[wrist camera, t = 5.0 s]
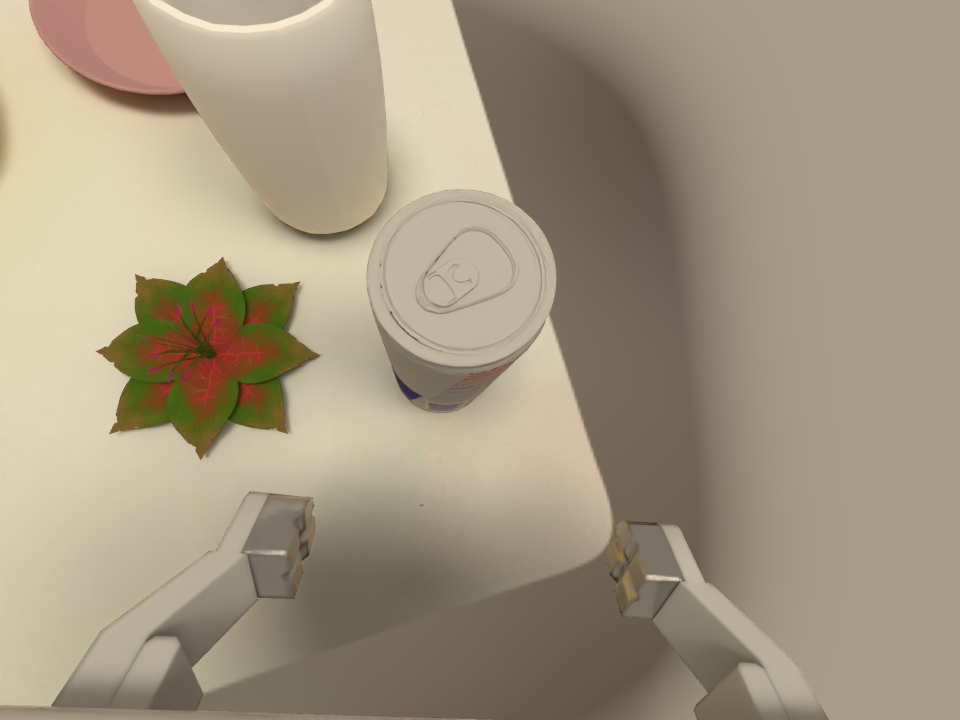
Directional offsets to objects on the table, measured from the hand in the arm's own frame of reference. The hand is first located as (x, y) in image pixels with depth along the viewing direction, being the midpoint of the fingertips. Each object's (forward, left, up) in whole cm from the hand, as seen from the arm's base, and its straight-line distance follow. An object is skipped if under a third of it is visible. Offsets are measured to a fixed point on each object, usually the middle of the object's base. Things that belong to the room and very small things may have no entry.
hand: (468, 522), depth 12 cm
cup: (+19, +7, -15) cm, 25 cm away
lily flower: (+8, +13, -15) cm, 21 cm away
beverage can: (+7, 0, -15) cm, 16 cm away
